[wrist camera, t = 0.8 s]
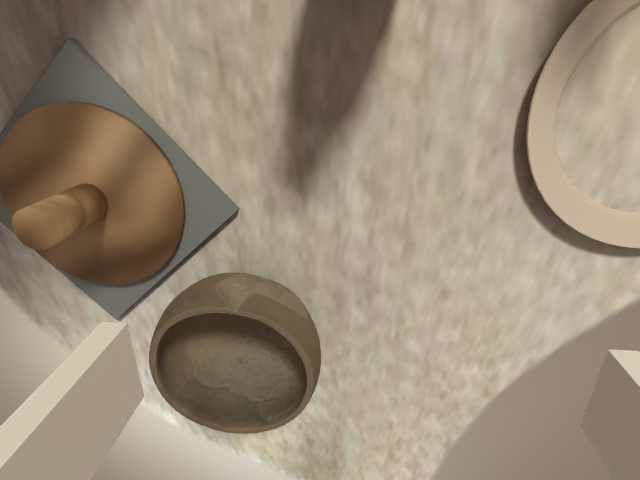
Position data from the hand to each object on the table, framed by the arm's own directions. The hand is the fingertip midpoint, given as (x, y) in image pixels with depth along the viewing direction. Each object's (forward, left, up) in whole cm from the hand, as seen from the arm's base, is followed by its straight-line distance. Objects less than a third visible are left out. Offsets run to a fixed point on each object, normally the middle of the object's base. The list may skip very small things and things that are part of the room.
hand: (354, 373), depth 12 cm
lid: (-15, -25, -31) cm, 42 cm away
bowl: (+7, -23, -32) cm, 40 cm away
